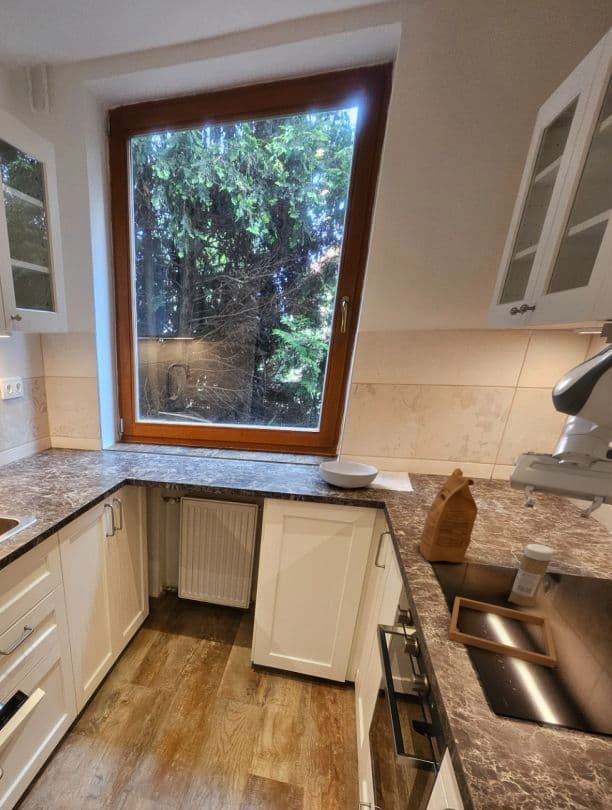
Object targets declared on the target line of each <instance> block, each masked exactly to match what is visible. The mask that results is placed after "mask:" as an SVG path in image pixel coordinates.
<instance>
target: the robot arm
mask: <svg viewBox="0 0 612 810" xmlns="http://www.w3.org/2000/svg"><path fill="white" fill-rule="evenodd" d="M551 399H552V404H553V407H554V409H555V410H556V412H559V413H562V414H564V415H568V416H567V418H566V420H565V421H564V424H563V428H562V434H561V437H560V438H559V439H558V440H557V442H556V444H555V447H554V449H553V452H552V453H544V452H535V451H527V452H524V453H523V452H522V453H521V454H519V455H517V457H516V458H515V461H514V468H513V470H512V472H511V473H510V476H509V479H508V485H509V487H510V488H511V489H513V490H520V491H523V492H524V493H523V496H524V498H525V505H524V508H528V509H534V506H535V504H536V501H537V498H536V497H532V495H533V493H538V494H544V495H549V496H555V497H562V498H567V499H574V500H580V501H586V502H590V503H591V505H590V506H583V507H582V509H581V512H580V514H579V518H582V519H586V520H588V519H589V518H590V516H591V513H593V512H595V511H596V510H598V509H599V508H601V506H602V505H607V506H609V505H610V506H612V446H610V444H611V443H612V343H610V344H609V345H608V346H607V347H605V348H604V349H602V350H601V351H599V352H597V354H595V355H594V356H592V357H590V358H589V359H587V360H585V361H583V362H581V363H580V364H578V365H576V366H574V367H572V369H570V370H569V371H568V372H566V373H565V374H564V375H563V376H562V377H561V378H559V380H558V381H557V382H556V384H555V385H554V387H553V389H552V392H551Z"/></svg>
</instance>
